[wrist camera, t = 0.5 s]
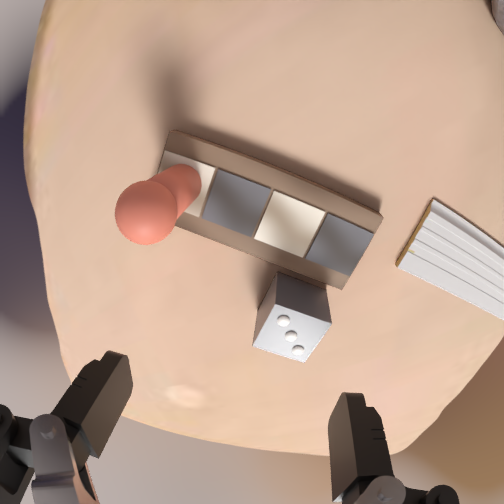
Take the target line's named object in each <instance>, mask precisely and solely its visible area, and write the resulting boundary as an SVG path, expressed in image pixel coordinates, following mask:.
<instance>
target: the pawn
mask: <svg viewBox="0 0 504 504" xmlns="http://www.w3.org/2000/svg"><path fill="white" fill-rule="evenodd" d="M201 187H202V182H201V178H200V176H199V174H198V172H197V171H196V170H195V169H194V168H193V167H191V166H189V165H186V164H176V165H173V166H171V167H169V168H168V169H166V170H164V171H162V172H160V173H159V174H157V175H155V176H153V177H152V178H150V179H148V180H147V181H140V182H136V183H134V184H132V185H130V186H129V187H128V188H126V189H125V190H124V191H123V193H122V194H121V195H120V197H119V199H118V201H117V204H116V208H115V219H116V223H117V226H118V228H119V230H120V231H121V233H122V234H123V235H124V236H125V237H126V238H127V239H129V240H130V241H132V242H134V243H137V244H143V245H149V244H154V243H157V242H159V241H161V240H163V239H164V238H165V237H167V236H168V235H169V234H170V232H171V231H172V229H173V228H174V226H175V223H176V220H177V219H178V218H179V216H180V215H181V214H182V213H183V212H184V211H185V210H186V209H187V208H188V207H189V206H190V205H191V204H192V202H193V201H194V200H195V199H196V198H197V197H198V196H199V194H200V192H201Z"/></svg>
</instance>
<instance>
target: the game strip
mask: <svg viewBox="0 0 504 504" xmlns="http://www.w3.org/2000/svg"><path fill="white" fill-rule="evenodd" d="M176 164H186V165H189V166H191V167H193V168H194V169H195V170H196V171H197V172H198V174H199V176H200V178H201V182H202V187H201V192H200V194H199V196H198V197H197V198H196V199H195V200H194V201H193V202H192V204H191V205H190V206H189V207H188V208H187V209H186V210H185V211H184V212H183V213H182V214H181V215H180V216H179V218H178V219H177V220H176V223H175V226H177V227H180V228H183V229H185V230H188V231H190V232H193V233H195V234H198V235H201V236H203V237H206V238H208V239H211V240H213V241H216V242H219V243H221V244H224V245H226V246H229V247H232V248H234V249H237V250H239V251H242V252H245V253H247V254H250V255H252V256H255V257H257V258H260V259H263V260H265V261H268V262H270V263H273V264H276V265H278V266H281V267H283V268H286V269H289V270H291V271H294V272H296V273H299V274H302V275H304V276H307V277H309V278H312V279H315V280H317V281H320V282H322V283H325V284H328V285H330V286H333V287H336V288H338V289H341V290H342V289H343V287H344V286H345V284H346V283H347V281H348V279H349V278H350V276H351V274H352V273H353V271H354V269H355V268H356V266H357V264H358V262H359V261H360V259H361V257H362V256H363V254H364V252H365V250H366V249H367V247H368V245H369V243H370V242H371V240H372V238H373V236H374V234H375V233H376V231H377V229H378V227H379V225H380V223H381V222H382V220H383V216H382V215H381V214H380V213H379V212H377V211H375V210H373V209H371V208H369V207H367V206H365V205H363V204H361V203H359V202H356V201H354V200H352V199H350V198H348V197H346V196H344V195H341V194H339V193H337V192H335V191H333V190H330V189H328V188H326V187H324V186H321V185H319V184H317V183H315V182H312V181H310V180H308V179H305V178H303V177H301V176H298V175H296V174H294V173H291V172H289V171H286V170H284V169H281V168H279V167H276V166H274V165H271V164H269V163H266V162H264V161H261V160H259V159H256V158H254V157H251V156H248V155H246V154H243V153H240V152H238V151H235V150H232V149H229V148H227V147H224V146H221V145H218V144H216V143H213V142H210V141H207V140H204V139H201V138H198V137H195V136H192V135H189V134H186V133H183V132H180V131H177V130H173V131H170V132H169V135H168V138H167V142H166V145H165V148H164V152H163V155H162V159H161V162H160V166H159V170H158V173H157V174H159V173H160V172H162V171H164V170H166V169H168V168H169V167H171V166H173V165H176Z"/></svg>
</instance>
